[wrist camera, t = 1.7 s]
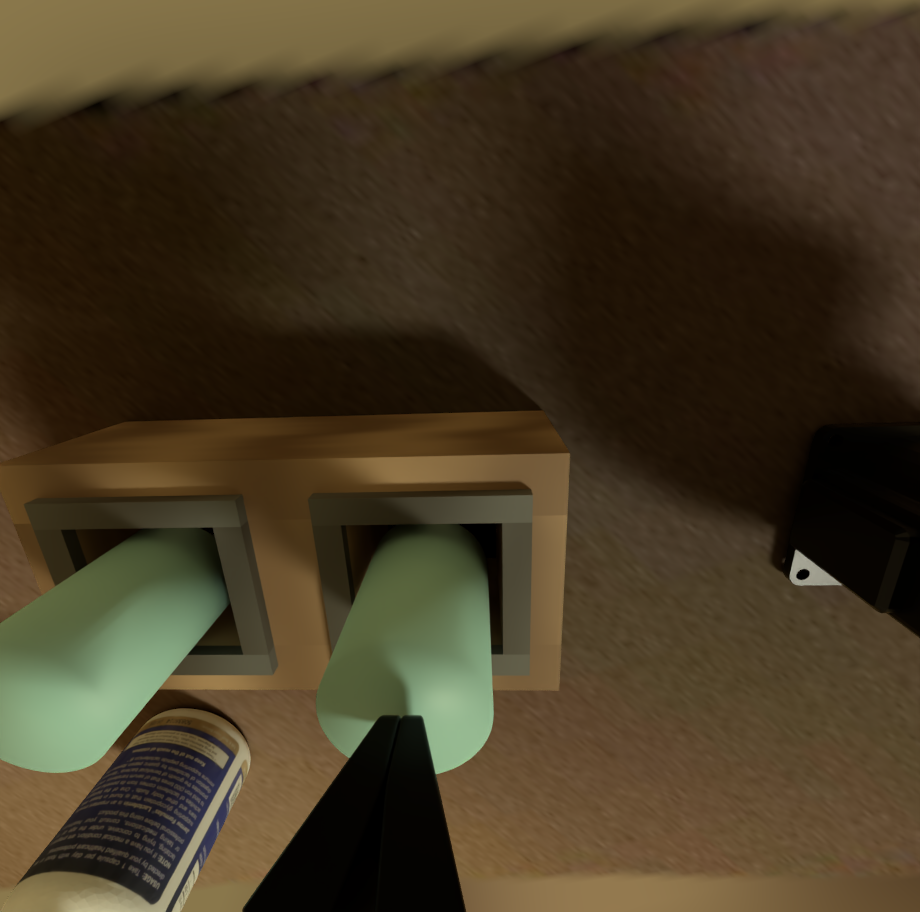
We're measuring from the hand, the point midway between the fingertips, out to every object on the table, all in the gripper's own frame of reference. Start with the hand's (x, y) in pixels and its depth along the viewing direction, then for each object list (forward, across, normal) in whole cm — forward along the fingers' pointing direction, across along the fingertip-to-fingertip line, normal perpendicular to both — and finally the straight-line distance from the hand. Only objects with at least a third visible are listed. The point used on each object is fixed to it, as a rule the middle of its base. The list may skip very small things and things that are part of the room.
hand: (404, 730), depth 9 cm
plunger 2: (+6, 0, 0) cm, 6 cm away
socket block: (+10, +4, 0) cm, 11 cm away
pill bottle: (+10, +13, +13) cm, 21 cm away
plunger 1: (+6, +8, 0) cm, 10 cm away
